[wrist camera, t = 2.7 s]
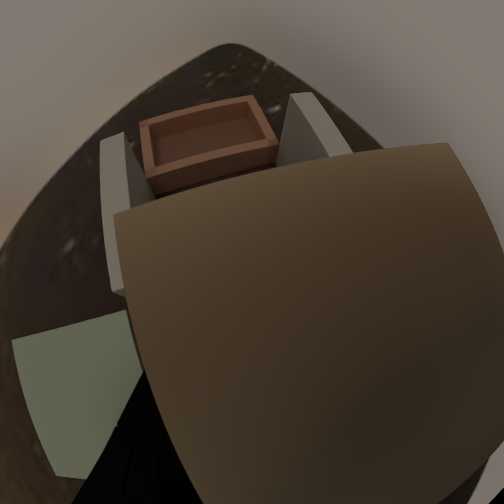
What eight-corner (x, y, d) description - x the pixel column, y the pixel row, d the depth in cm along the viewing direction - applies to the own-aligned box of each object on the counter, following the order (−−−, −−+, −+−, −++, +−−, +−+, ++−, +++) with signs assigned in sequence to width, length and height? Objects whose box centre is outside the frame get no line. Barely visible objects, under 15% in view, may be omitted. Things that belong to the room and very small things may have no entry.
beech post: (329, 371, 13) (529, 407, 2) (241, 403, 13) (259, 581, 1) (300, 287, 15) (447, 142, 3) (211, 315, 14) (113, 214, 3)
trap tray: (275, 163, 17) (279, 144, 15) (154, 195, 16) (145, 178, 14) (251, 114, 19) (252, 94, 17) (146, 140, 17) (139, 122, 16)
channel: (336, 255, 15) (384, 210, 10) (159, 311, 14) (111, 291, 8) (292, 160, 17) (311, 92, 12) (137, 201, 16) (100, 140, 10)
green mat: (185, 472, 11) (184, 475, 11) (59, 473, 9) (56, 475, 9) (128, 310, 14) (125, 309, 13) (15, 340, 12) (11, 340, 12)
